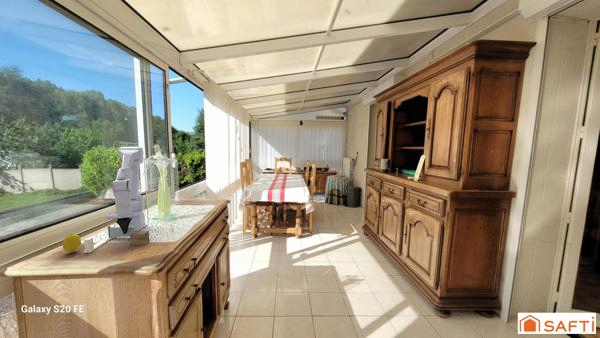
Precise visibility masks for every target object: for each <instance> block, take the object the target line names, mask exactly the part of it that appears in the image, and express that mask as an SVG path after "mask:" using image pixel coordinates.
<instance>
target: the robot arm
mask: <svg viewBox="0 0 600 338" xmlns="http://www.w3.org/2000/svg"><path fill="white" fill-rule="evenodd" d="M118 155H119V158H120V159H121V162H122V163H121V167H120V168H118V170H117V173H116V178H115V180H113V181H112V183H111V190H112V192H113V193H112V194H113V197H114V200H115V213H111V214H106V215H105V217H104V219H105V220H106V221H107V220H116V221H115V222H116V224H117V225H118V227H120V228H121V230H122V232H123V234H126V233H127V231H128V227H132V226H135V227H136V232H138V231H142V229H143V228H146V226H148V224H147V223H146V217H145V215H146V214H145V212H144V210H145V208H146V207H145V206H146V205H145V203H146V202H145V198H144V196H143V195H141V194H139V178H140V177H139V175H140V173H139V171H140V165H141V164H143V163H144V148H143V147H142V146H119V149H118Z"/></svg>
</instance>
